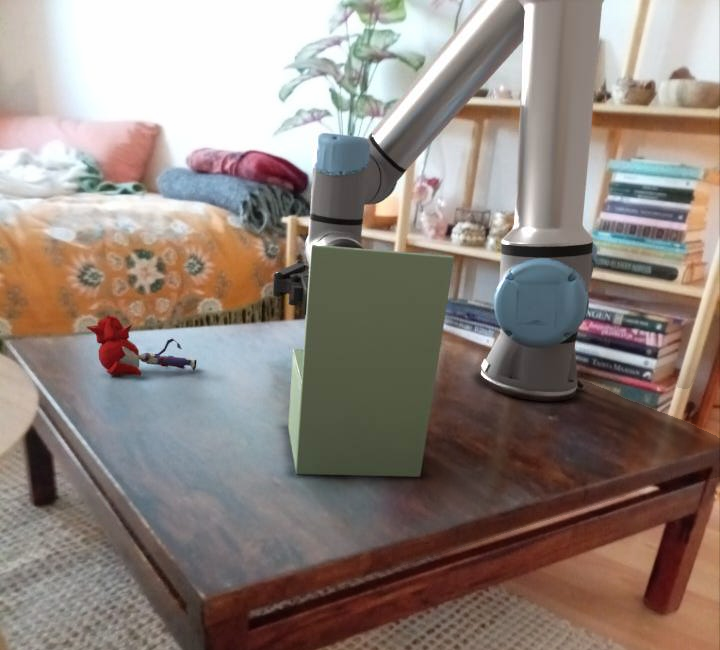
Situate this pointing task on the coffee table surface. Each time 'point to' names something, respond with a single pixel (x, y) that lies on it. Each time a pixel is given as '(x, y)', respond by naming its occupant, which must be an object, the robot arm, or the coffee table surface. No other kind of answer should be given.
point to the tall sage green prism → (367, 361)
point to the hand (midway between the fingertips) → (369, 307)
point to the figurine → (128, 350)
